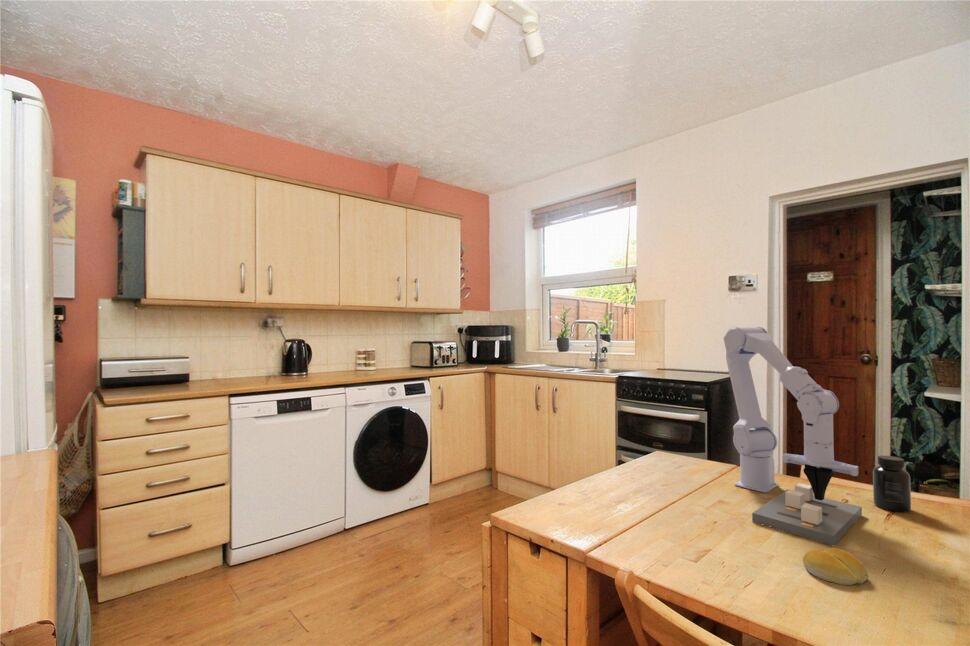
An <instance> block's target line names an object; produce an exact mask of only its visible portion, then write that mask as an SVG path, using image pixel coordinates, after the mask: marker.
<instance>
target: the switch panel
mask: <svg viewBox="0 0 970 646" xmlns="http://www.w3.org/2000/svg"><path fill="white" fill-rule="evenodd" d="M788 490H789V489H786V490H784V491H783V492H782V493H780V494H779V495H777V496H776V497H774V498H772V499H771V500H769V501H768V502H766V503H765V504H763V505H761V506H760V507H759V508H757V509H756V510H754V511H753V512H752V513H751V517H752V520H751V521H752V523H755V522H756V524H758V523H759V524H758V525H762V524H763V525H762V526H765V525H767V526H766V527H768V526H771V527H770V528H772V527H774V528H773V529H775V528H777V529H776V530H779V529H780V530H779V531H782V530H783V531H782V532H785V531H786V532H785V533H790V534H792V533H793V535H795V534H796V536H799V535H800V537H802V536H803V537H802V538H805V537H806V538H805V539H810V540H812V541H815V540H816V541H815V542H819V543H823V544H826V545H830V546H832V545H833V547H835V545H836V544H837V543H838V542H839V541H840V540H841V539H842V538H843V537H844V536H843V535H845V534H846V533H847V532H848V531H849V530H850V529H851V528H852V527H853V526H852V525H853V524H854V525H855V523H856V522H857V521H859V519H860V518H861V517H862V516H861V515H863V514H862V513H863V512H862V511H863V510H862V509H863V508H862V506H860V505H855V504H852V503H848V502H847V503H846V502H842V501H839V500H836V499H834V500H833V499H830V498H827V497H824V499H823V500H822V501H821V500H817V499H815V497H814V494H813V499H812V500H811V501H810V502H809V501H805V503H807V504H811V505H815V506H819V507H822V522H821V523H820V524H819V525H816V524H812V523H808V522H805V521H801V509H798V508H794V507H790V506H786V505H785V492H787V491H788ZM851 526H852V527H851ZM842 536H843V537H842ZM841 537H842V538H841Z"/></svg>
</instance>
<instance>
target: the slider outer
mask: <svg viewBox="0 0 970 646" xmlns="http://www.w3.org/2000/svg"><path fill="white" fill-rule="evenodd" d="M801 521H805V522H808V523H812V524H816V525H819V524H820V523H821V522H822V507H819V506H815V505H811V504H807V503H805V504H804V505H802V506H801Z"/></svg>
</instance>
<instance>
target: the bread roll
mask: <svg viewBox="0 0 970 646" xmlns="http://www.w3.org/2000/svg"><path fill="white" fill-rule="evenodd" d="M802 561H803V562H802V563H803V565H804V567H805V569H806V570H807V572H809V573H810V574H812V575H813V576H814V577H816V578H819V579H821V580H824V581H828V582H829V583H832V584H833V583H834V584H836V585H843V586H853V585H855V584H858V585H859V584H860V585H861V584H864V582H866V581H867V580H868V578H869V575H868V572H867V569H866V567H865V566H864V564H863V563H862V561H860V560H859V558H857V557H856V556H855V555H854V554H852V553H850V552H848V551H846V550H844V549H840V548H838V547H837V548H836V547H828V548H826V549H825V548H824V549H823V550H819V549H818V550H817V549H812V550H809V551H807V552H805V553H804V555H803V558H802Z"/></svg>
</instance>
